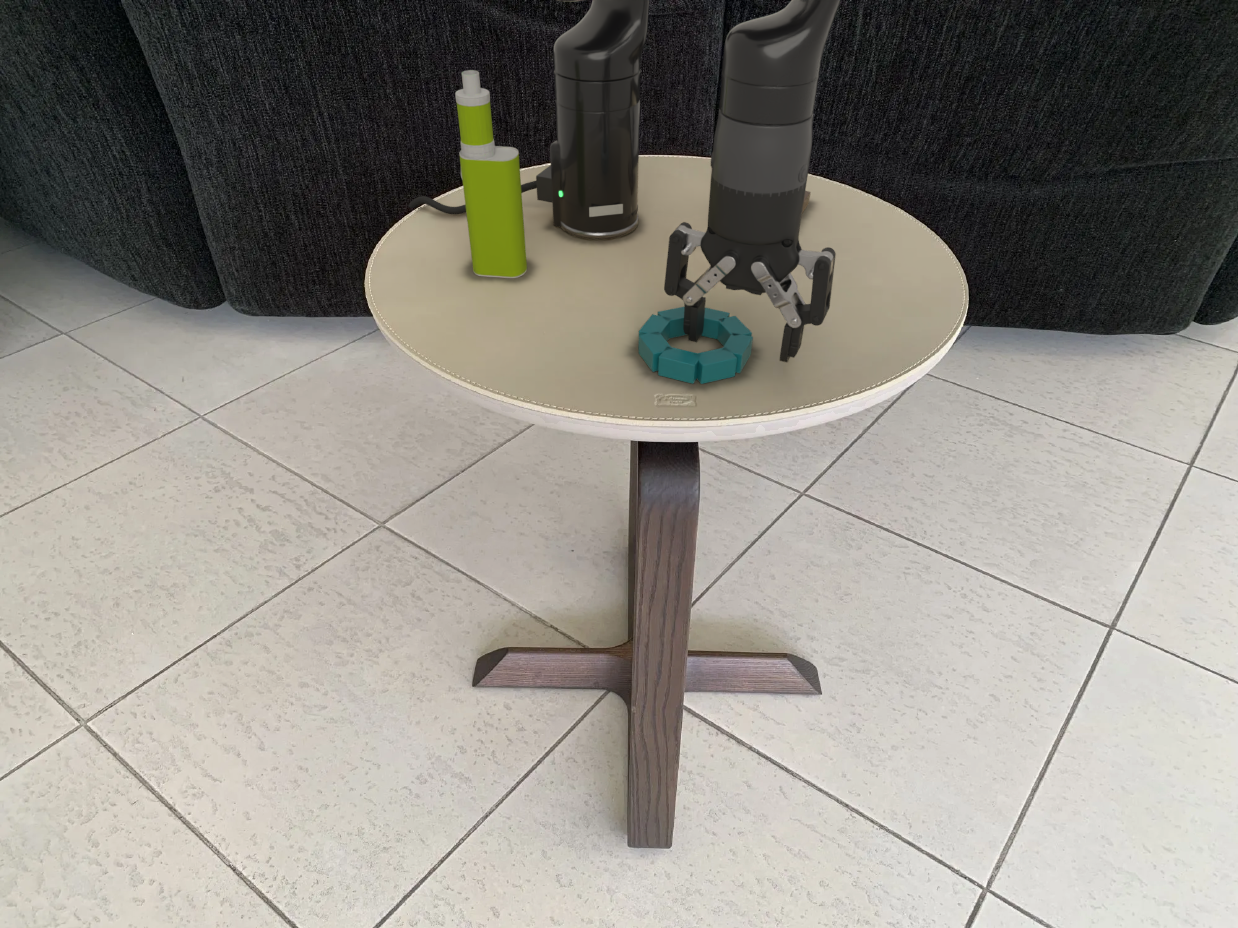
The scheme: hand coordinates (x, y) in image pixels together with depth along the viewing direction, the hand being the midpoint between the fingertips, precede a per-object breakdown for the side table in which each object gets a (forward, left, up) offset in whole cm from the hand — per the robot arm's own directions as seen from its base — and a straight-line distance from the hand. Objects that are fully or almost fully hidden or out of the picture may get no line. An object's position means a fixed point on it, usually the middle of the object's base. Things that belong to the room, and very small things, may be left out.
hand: (739, 347), depth 76 cm
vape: (-29, +7, -2) cm, 30 cm away
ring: (-4, 0, -2) cm, 5 cm away
